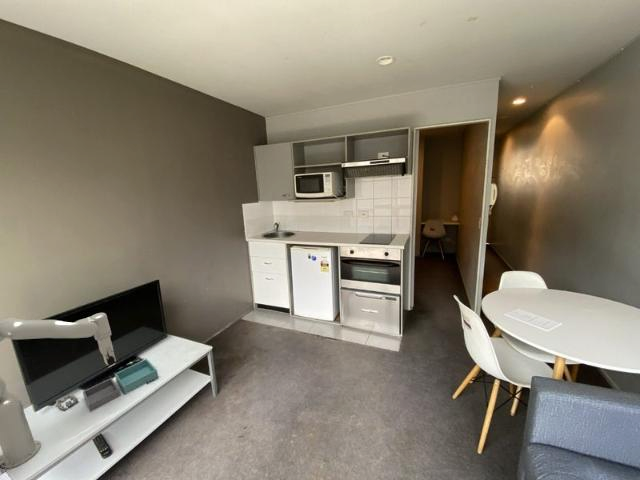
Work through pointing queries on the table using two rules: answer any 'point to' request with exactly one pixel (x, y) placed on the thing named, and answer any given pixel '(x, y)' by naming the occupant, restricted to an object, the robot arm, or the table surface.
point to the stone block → (106, 358)
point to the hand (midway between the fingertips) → (110, 361)
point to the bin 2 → (136, 376)
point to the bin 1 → (101, 394)
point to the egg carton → (67, 402)
